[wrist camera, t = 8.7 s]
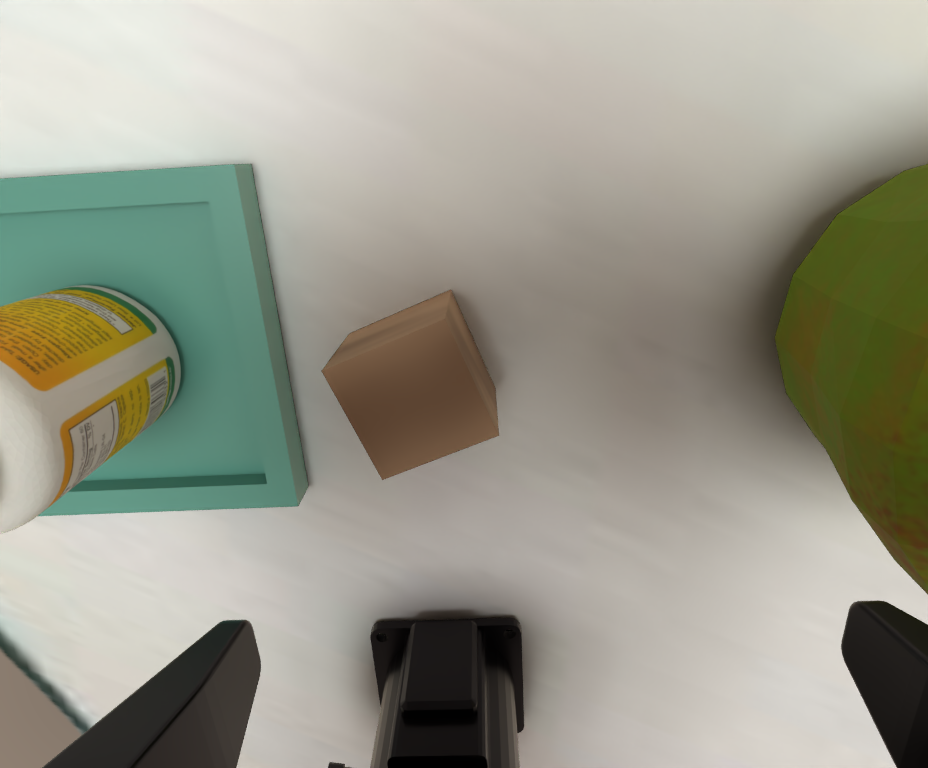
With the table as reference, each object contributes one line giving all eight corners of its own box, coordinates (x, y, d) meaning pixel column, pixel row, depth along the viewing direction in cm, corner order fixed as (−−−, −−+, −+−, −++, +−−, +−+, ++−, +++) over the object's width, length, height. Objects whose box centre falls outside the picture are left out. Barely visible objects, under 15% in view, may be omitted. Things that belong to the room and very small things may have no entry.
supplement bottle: (210, 404, 21) (17, 585, 12) (81, 440, 22) (-193, 637, 13) (141, 261, 19) (-148, 350, 10) (1, 305, 20) (-386, 425, 11)
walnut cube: (495, 387, 21) (498, 435, 18) (398, 425, 22) (382, 479, 18) (451, 289, 20) (444, 318, 16) (349, 333, 21) (321, 371, 17)
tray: (308, 486, 23) (298, 506, 22) (16, 498, 23) (-11, 517, 22) (251, 164, 19) (234, 164, 17) (-106, 186, 19) (-148, 188, 18)
